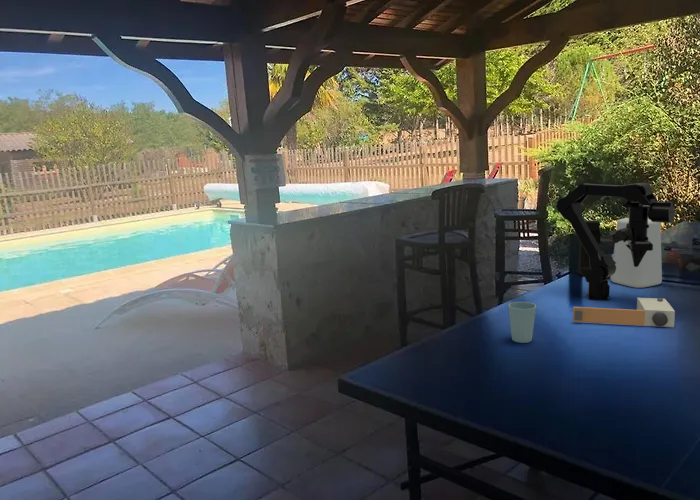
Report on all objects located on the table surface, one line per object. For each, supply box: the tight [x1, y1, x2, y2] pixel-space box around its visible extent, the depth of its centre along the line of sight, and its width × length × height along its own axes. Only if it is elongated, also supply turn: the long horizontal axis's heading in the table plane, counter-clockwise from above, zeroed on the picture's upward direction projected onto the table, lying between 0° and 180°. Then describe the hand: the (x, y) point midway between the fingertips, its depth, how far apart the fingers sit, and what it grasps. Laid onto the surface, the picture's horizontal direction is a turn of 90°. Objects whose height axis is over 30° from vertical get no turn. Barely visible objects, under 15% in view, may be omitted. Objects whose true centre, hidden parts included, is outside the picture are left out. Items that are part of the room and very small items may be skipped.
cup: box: [508, 301, 537, 344], centre depth 165 cm, size 8×8×10 cm
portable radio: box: [577, 215, 601, 277], centre depth 236 cm, size 8×6×25 cm
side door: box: [572, 306, 645, 327], centre depth 175 cm, size 2×20×5 cm, turn 71°
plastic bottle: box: [610, 217, 663, 289], centre depth 220 cm, size 15×15×28 cm
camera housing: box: [636, 297, 676, 328], centre depth 177 cm, size 8×15×6 cm, turn 162°
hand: (635, 266), depth 193 cm, fingers closed
